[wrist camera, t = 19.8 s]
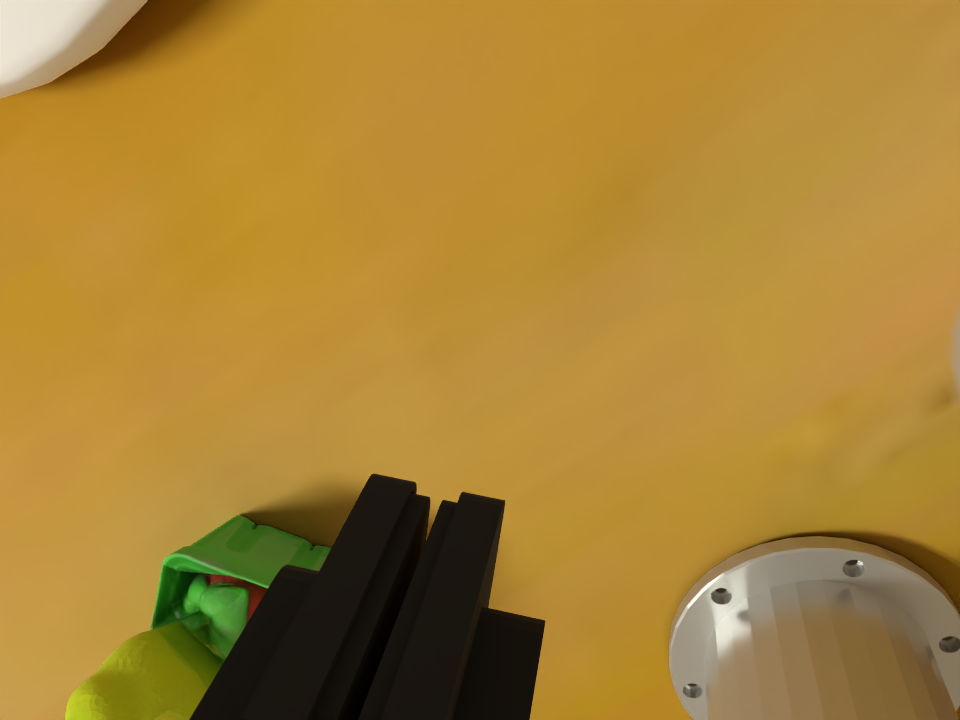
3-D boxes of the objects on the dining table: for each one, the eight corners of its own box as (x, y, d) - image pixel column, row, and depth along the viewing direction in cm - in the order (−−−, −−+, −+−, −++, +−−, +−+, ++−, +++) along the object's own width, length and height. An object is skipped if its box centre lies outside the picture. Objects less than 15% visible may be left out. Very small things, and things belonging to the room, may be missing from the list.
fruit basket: (318, 704, 48) (227, 908, 38) (160, 645, 48) (28, 833, 38) (369, 538, 43) (280, 722, 33) (192, 474, 43) (51, 637, 33)
